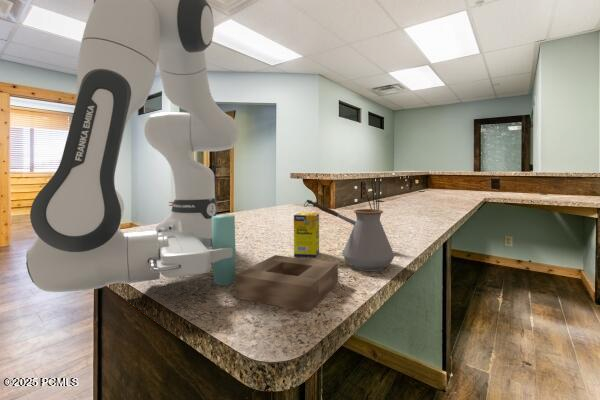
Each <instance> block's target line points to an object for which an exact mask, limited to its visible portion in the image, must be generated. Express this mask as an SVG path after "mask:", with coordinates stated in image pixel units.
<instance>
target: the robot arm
mask: <svg viewBox="0 0 600 400" xmlns="http://www.w3.org/2000/svg"><path fill="white" fill-rule="evenodd" d="M89 12H90V13H89V15H88V17H87V19H86V23H85V27H84V30H83V35H82V38H81V43H80V48H79V54H78V62H77V75H76V76H77V82H76V83H77V84H76V98H75V99H76V101H75V106H74V110H73V114H72V118H71V120H70V124H69V125H70V126H69V129H68V132H67V137H66V141H65V145H64V147H63V153H62V155H61V159H60V162H59V164H58V167H57V169H56V171H55V173H54V174H53V175H52V177H51V178H50V179H49V180H48V181H47V183H46V184H45V185H44V186H43V187H42V189H40V191H39V192H38V194H36V196H35V197H34V200H33V201H32V204H31V206H30V212H29V213H30V214H29V218H30V219H29V220H30V223H31V224H30V225H31V226H32V229H33V231H34V233H35V234H36V235H37V238H36V239H35V241H34V242H33V244H31V245H30V246H29V247H28V249H27V252H26V257H25V258H26V262H25V264H26V269H27V270H26V271H27V273H28V276H29V279H30V280H31V281H32V283H33V284H34V285H35V286H36V288H38V289H39V290H41V291H44V292H49V293H50V292H51V293H67V292H68V293H69V292H79V291H86V290H96V289H102V288H104V287H107V286H109V285H112V284H113V285H114V284H124V285H125V284H127V285H129V284H135V283H142V282H148V281H156V280H160V278H161V275H162V276H163V277H165V278H176V277H177V278H179V277H186V276H196V275H197V276H198V275H204V274H206V273H210V272H211V270H212V268H211V267H212V264H213V262H217V261H219V260H222V259H225V258H231V257H232V256H233V254H232V249H231V248H230V247H221V248H220V249H215V250H213V246H212V216H217V211H218V205H217V204H218V202H217V197H216V191H215V190H216V189H215V188H216V187H215V183H216V182H215V174H214V171H213V170H212V169H211V168H210V167H208V166H207V165H205V164H203V163H201V162H198V161H197V160H196V159H194V157H193V154H192V153H194V152H222V151H227V150H230V149H233V148H234V147H235V146H236V145H237V143H238V139H239V135H240V133H239V132H240V131H239V126H238V125H237V122H236V121H235V119H234V118H233V117H232V116H231V115H229V114H227V113H226V112H225V111H223V110H222V109H221V108H220V107H219V105H218V104H217V103H216V101H215V100H214V98H213V96H212V93H211V89H210V85H209V78H208V69H207V68H208V67H207V60H206V54H205V53H206V52H205V50H206V49H207V48H208V47H209V46H210V45H212V44H211V43H212V41H213V36H214V32H215V31H214V30H215V22H214V14H213V11H212V8H211V5H210V4H209V2H208V1H207V0H93V4H92V7H91V10H90V11H89ZM157 66H158V69H159V74H160V78H161V82H162V87H163V93H164V95H165V96H166V98H167V99H168V100H169V102H171V103H172V104H173V105H174V106H177V107H179V108H180V109H182V110H184V111H186V112H184V111H183V112H181V111H179V112H178V111H176V112H175V111H167V112H159V113H154V114H151V115H149V116H148V118H147V119H146V121H145V123H144V127H143V132H144V136H145V139H146V141H147V142H148V144H149V145H150V146H151V148H153V149H155V150H156V151H157V152H159V153H160V154H161V155H162V156H163V157H164V158H165V160H166V161H167V163H168V164H169V166H170V168H171V171H172V172H171V173H172V175H173V181H174V189H175V190H174V193H175V194H174V195H175V199H174V200H173V201H168V206H169V207H171V212H170V213H169V214H168V215H167V216H166V217H164V218H163V220H161V221H160V222H159V223H158V224H157V225H156V226H155V229H151V230H150V229H148V230H139V231H128V232H123V231H121V230H120V229H121V221H122V219H123V216H124V214H125V204H124V200H123V198H122V196H121V194H120V193H119V192H118V190H117V189H116V185H115V175H116V170H117V166H118V161H119V156H120V152H121V151H120V150H121V147H122V141H123V138H124V132H125V130H126V126H127V124H128V122H129V120H130V119H131V117H132V115H133V114H134V113H136V111H138V110H140V109H142V108H143V107H144V105H145V104H146V102H147V100H148V97H149V96H150V92H151V90H152V87H153V85H154V81H155V77H156V73H157Z"/></svg>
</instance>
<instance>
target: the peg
mask: <svg viewBox="0 0 600 400" xmlns="http://www.w3.org/2000/svg"><path fill="white" fill-rule="evenodd" d="M235 219H236V217H235V215H233V214H232V215H231V214H222V215H220V214H219V215H216V216H212V246H213V248H212V249H213V250H215V249H220V248H221V247H230V248H231V249H232V254H233V256H232V257H231V258H225V259H222V260H219V261H217V262H213V263H212V264H213V265H212V271H213V274H212V275H213V276H212V277H213V283H214V285H218V286H225V285H227V286H228V285H232V284H233V283H234V284H235V275H236V274H237V257H236V252H237V251H236V220H235Z"/></svg>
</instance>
